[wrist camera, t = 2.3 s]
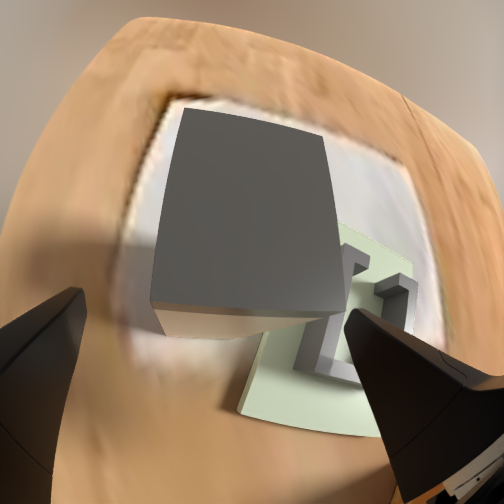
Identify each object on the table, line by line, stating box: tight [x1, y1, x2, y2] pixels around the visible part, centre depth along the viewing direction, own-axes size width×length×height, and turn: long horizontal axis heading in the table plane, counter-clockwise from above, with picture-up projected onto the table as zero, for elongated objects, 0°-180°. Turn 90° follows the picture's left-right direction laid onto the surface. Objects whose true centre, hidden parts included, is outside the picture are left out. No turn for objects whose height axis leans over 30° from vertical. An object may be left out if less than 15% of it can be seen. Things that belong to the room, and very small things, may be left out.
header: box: [236, 220, 418, 437], centre depth 18 cm, size 16×12×4 cm
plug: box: [150, 108, 346, 340], centre depth 12 cm, size 6×4×13 cm, turn 0°
